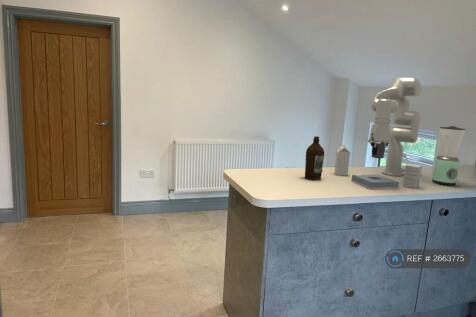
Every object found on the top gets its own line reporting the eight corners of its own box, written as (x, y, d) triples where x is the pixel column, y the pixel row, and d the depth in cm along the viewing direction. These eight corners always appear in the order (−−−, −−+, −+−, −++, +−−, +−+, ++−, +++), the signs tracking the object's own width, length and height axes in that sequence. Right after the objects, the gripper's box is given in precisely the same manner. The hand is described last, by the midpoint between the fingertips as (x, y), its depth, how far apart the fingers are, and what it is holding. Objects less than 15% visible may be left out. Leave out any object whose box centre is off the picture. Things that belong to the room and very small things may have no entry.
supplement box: (405, 184, 213) (408, 163, 211) (419, 187, 208) (422, 165, 206) (402, 186, 207) (405, 164, 205) (416, 189, 203) (419, 167, 201)
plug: (378, 157, 207) (380, 143, 205) (383, 158, 202) (385, 144, 201) (371, 156, 205) (373, 142, 204) (376, 158, 201) (378, 144, 200)
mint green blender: (463, 187, 213) (473, 128, 207) (441, 186, 212) (451, 127, 206) (443, 180, 232) (451, 125, 226) (423, 179, 231) (431, 124, 225)
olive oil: (299, 177, 216) (303, 135, 212) (312, 175, 222) (316, 135, 218) (312, 181, 207) (316, 137, 203) (325, 179, 213) (329, 137, 209)
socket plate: (377, 181, 218) (378, 173, 217) (398, 188, 201) (399, 180, 200) (351, 181, 213) (352, 173, 212) (370, 189, 196) (371, 181, 195)
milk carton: (345, 173, 234) (348, 144, 231) (347, 176, 227) (350, 146, 224) (334, 173, 235) (337, 144, 231) (336, 175, 228) (339, 145, 224)
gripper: (390, 121, 206) (386, 153, 209) (364, 120, 202) (360, 152, 205) (399, 122, 199) (394, 155, 202) (373, 121, 195) (368, 155, 198)
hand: (377, 153), depth 203 cm, fingers closed on plug, 4 cm apart
